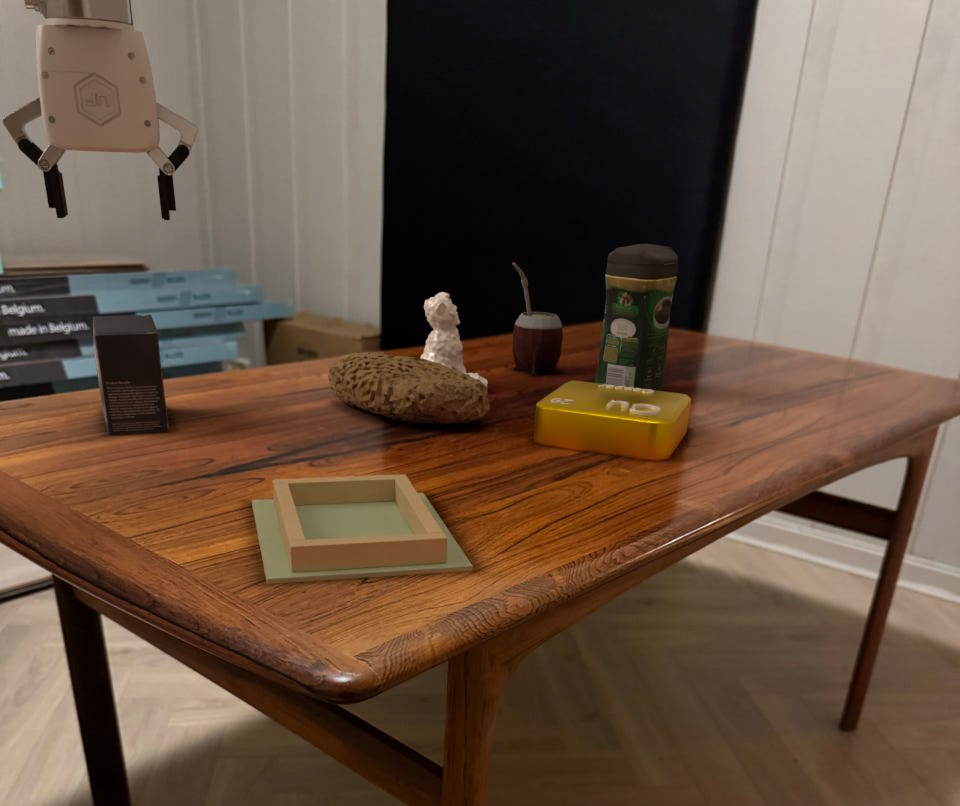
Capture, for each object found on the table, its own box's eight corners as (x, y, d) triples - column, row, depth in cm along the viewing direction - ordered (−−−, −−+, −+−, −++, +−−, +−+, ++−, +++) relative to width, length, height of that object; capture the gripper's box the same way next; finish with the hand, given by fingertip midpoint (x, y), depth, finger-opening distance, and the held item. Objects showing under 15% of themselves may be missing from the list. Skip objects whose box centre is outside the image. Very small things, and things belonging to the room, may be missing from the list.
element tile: (688, 431, 111) (695, 390, 109) (666, 465, 98) (673, 418, 96) (564, 415, 115) (568, 374, 113) (528, 445, 103) (531, 400, 100)
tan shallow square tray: (267, 586, 67) (265, 552, 66) (251, 506, 81) (250, 477, 80) (472, 573, 71) (474, 540, 70) (423, 498, 85) (423, 470, 84)
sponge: (317, 415, 114) (400, 419, 98) (320, 348, 113) (405, 340, 97) (411, 425, 122) (502, 429, 106) (416, 361, 120) (509, 357, 104)
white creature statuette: (491, 395, 123) (496, 297, 117) (430, 399, 119) (432, 298, 114) (461, 379, 130) (464, 286, 125) (402, 382, 127) (403, 287, 121)
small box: (102, 412, 106) (89, 314, 101) (163, 409, 108) (153, 313, 104) (105, 437, 98) (90, 331, 93) (171, 434, 100) (160, 330, 95)
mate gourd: (560, 369, 140) (569, 260, 133) (558, 380, 133) (568, 265, 126) (509, 365, 140) (516, 256, 133) (505, 377, 133) (512, 262, 126)
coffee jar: (618, 383, 133) (635, 239, 125) (670, 392, 129) (690, 245, 121) (583, 393, 126) (598, 242, 118) (637, 404, 122) (656, 248, 114)
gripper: (-25, -1, 80) (14, 219, 88) (188, 14, 85) (206, 223, 93) (-10, 7, 87) (25, 213, 95) (188, 21, 91) (205, 216, 99)
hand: (115, 218), depth 94 cm, fingers open, 9 cm apart
